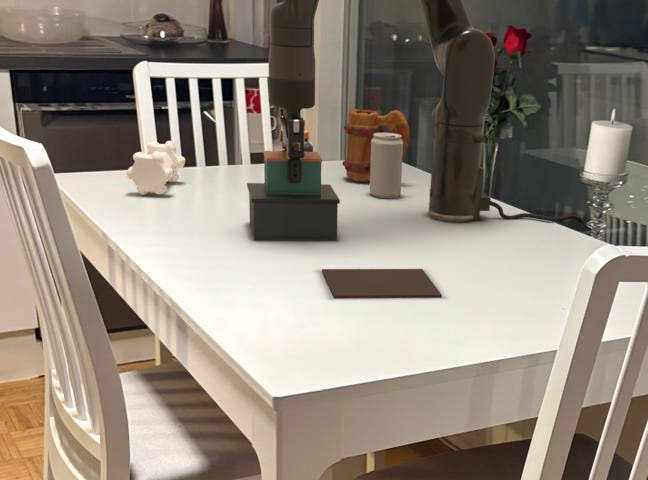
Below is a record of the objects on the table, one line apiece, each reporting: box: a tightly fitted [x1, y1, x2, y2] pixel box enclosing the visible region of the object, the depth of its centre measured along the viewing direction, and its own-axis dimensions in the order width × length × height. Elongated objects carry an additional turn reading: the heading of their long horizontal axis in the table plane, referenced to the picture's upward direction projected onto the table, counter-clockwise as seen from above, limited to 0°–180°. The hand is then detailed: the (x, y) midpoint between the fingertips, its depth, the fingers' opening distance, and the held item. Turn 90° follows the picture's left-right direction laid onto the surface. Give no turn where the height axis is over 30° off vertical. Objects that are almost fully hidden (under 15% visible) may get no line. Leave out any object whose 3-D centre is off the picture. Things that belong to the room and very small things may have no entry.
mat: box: [321, 268, 443, 299], centre depth 147 cm, size 16×13×1 cm
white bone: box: [126, 140, 186, 196], centre depth 190 cm, size 15×9×8 cm, turn 1°
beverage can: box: [369, 132, 404, 199], centre depth 197 cm, size 6×6×12 cm
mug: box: [342, 108, 411, 183], centre depth 207 cm, size 15×8×15 cm, turn 72°
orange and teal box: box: [262, 150, 323, 195], centre depth 165 cm, size 9×6×6 cm
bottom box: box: [246, 182, 341, 241], centre depth 168 cm, size 15×12×7 cm
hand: (291, 177), depth 165 cm, fingers open, 8 cm apart
